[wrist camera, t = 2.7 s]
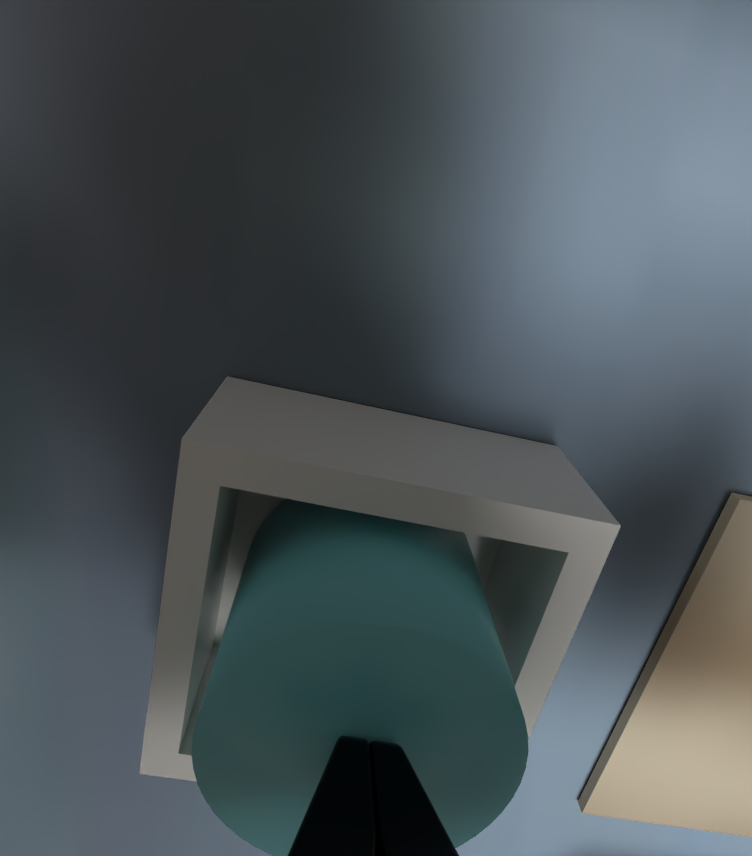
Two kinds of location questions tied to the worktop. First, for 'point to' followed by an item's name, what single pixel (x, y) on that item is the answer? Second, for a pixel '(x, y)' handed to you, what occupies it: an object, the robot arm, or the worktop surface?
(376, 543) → the dome button
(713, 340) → the worktop surface
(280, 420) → the dome base
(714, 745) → the birch tile
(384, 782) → the robot arm
